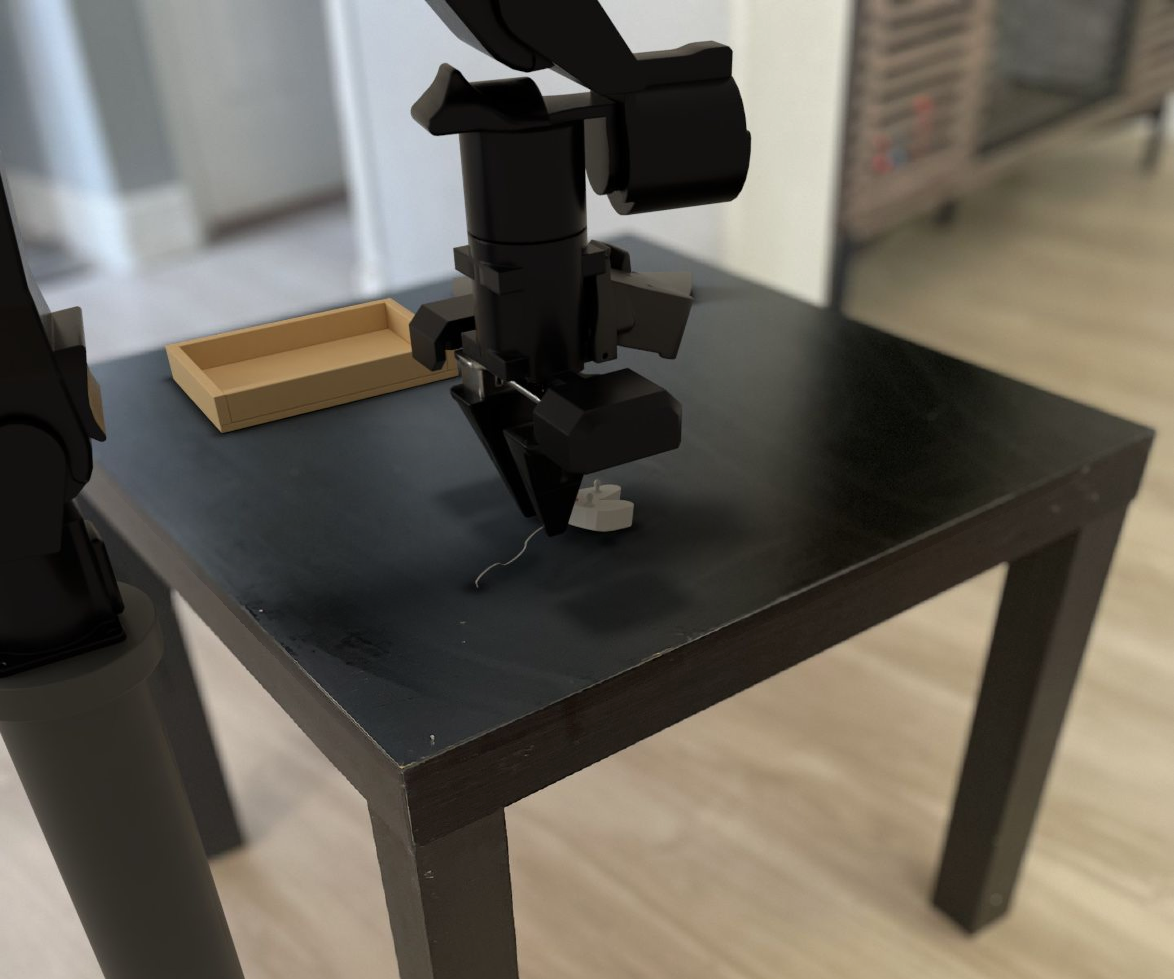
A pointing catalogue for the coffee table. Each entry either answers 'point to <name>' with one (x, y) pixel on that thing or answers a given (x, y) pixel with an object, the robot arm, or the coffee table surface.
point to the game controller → (596, 511)
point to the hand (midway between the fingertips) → (544, 524)
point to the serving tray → (301, 364)
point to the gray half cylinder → (673, 279)
